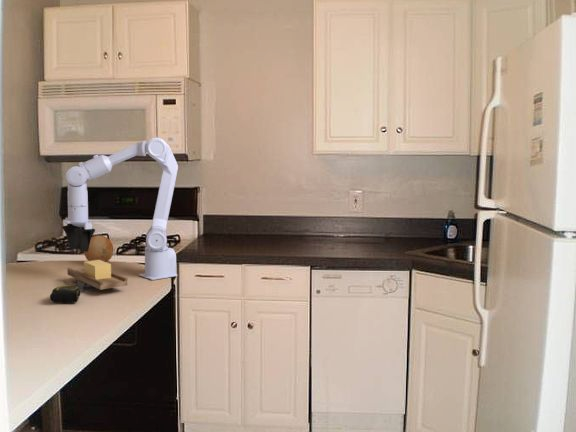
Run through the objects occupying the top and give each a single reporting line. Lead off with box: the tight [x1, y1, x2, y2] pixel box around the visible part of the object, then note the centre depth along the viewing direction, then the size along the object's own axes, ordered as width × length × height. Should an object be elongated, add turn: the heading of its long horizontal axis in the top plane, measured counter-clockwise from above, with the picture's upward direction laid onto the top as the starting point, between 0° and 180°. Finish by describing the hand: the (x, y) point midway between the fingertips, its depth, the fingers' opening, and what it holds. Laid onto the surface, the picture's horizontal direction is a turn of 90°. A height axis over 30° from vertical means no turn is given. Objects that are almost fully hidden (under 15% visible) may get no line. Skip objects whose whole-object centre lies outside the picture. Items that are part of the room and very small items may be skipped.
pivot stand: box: [70, 280, 100, 293], centre depth 157 cm, size 12×8×2 cm, turn 135°
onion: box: [83, 235, 114, 263], centre depth 186 cm, size 10×10×10 cm
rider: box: [83, 260, 112, 280], centre depth 155 cm, size 5×8×4 cm, turn 45°
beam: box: [67, 267, 128, 291], centre depth 156 cm, size 8×22×3 cm, turn 45°
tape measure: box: [49, 285, 82, 304], centre depth 141 cm, size 7×7×4 cm
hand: (78, 249), depth 164 cm, fingers open, 7 cm apart
